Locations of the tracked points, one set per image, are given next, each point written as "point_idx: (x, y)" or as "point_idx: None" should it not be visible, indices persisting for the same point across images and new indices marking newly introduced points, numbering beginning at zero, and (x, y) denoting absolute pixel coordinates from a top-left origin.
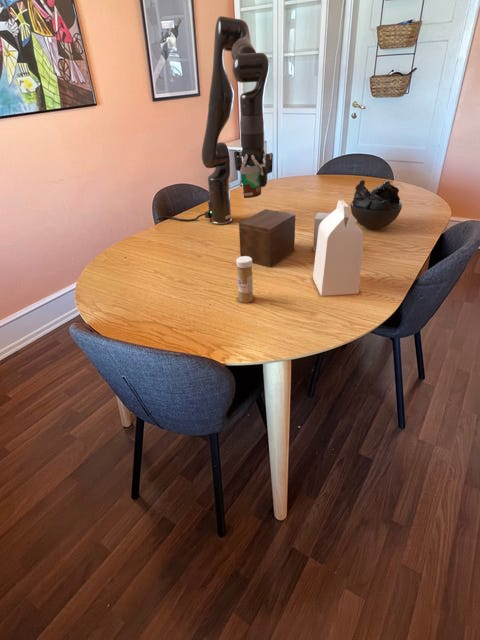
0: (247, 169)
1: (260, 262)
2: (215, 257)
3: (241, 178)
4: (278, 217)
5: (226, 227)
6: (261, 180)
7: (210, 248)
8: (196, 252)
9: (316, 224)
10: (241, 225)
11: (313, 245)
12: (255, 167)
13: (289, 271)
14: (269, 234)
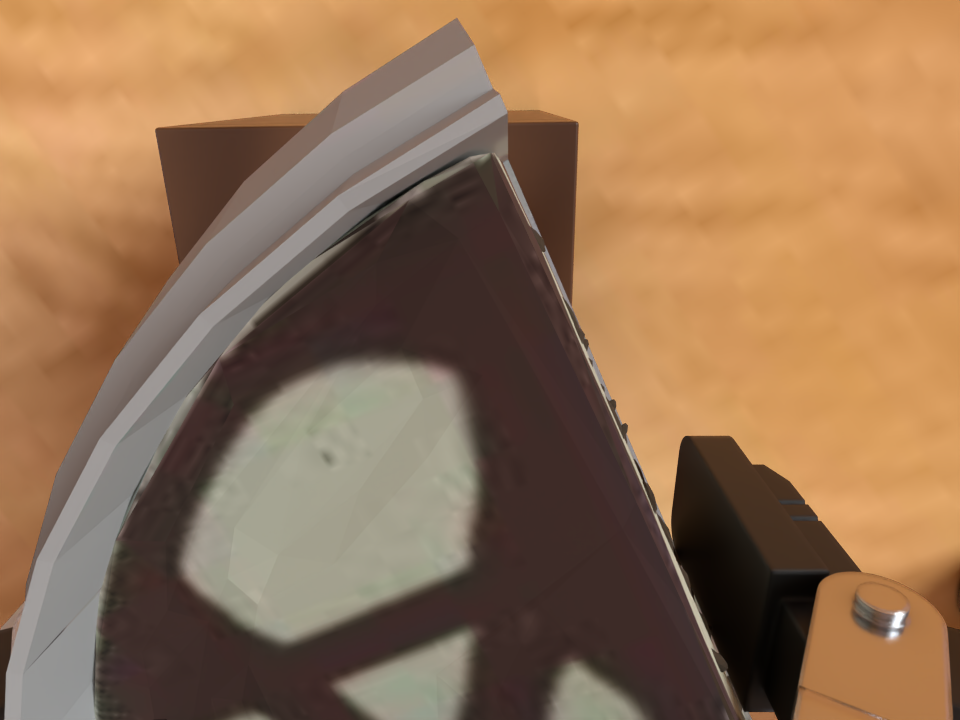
0: (200, 248)
1: None
2: (737, 35)
3: (801, 510)
4: None
5: (940, 517)
6: None
7: (864, 155)
8: (935, 28)
9: None
10: (538, 120)
11: None
12: (57, 635)
13: (138, 132)
14: (188, 124)
